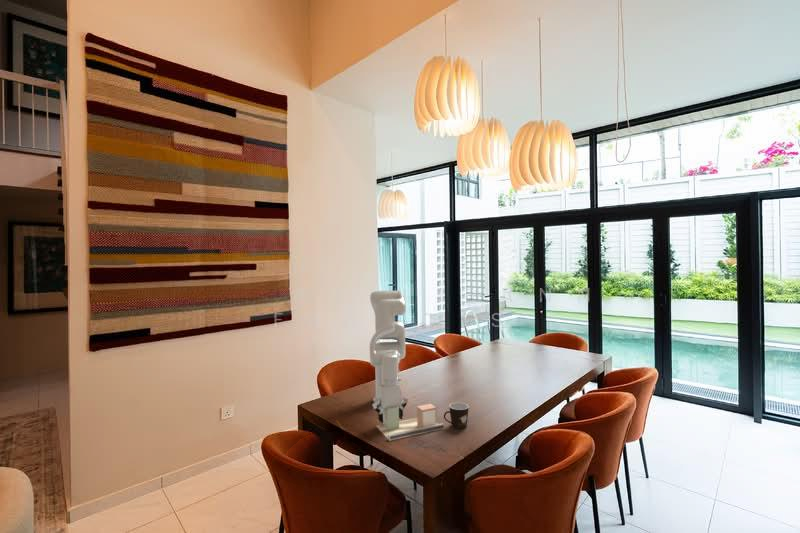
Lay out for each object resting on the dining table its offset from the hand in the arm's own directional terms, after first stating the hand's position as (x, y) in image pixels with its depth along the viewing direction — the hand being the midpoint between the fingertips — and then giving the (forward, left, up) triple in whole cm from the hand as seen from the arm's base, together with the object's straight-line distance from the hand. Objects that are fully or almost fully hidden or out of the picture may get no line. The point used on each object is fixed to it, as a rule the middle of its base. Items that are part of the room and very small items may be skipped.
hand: (390, 419), depth 170 cm
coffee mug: (+13, +26, -4) cm, 29 cm away
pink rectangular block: (+8, +14, -3) cm, 16 cm away
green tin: (0, 0, -3) cm, 3 cm away
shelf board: (+5, +7, -4) cm, 9 cm away
